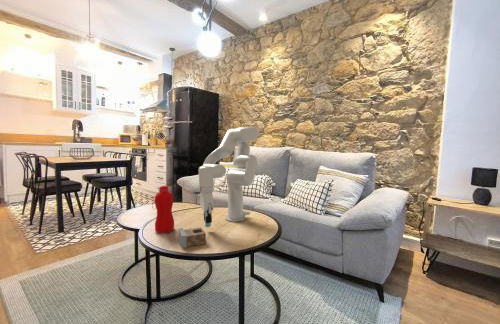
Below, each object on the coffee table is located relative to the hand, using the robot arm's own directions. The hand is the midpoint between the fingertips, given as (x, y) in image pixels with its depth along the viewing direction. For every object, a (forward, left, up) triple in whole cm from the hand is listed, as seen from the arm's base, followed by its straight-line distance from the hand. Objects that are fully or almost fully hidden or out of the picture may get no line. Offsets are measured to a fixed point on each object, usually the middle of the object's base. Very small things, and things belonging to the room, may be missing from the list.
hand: (207, 221), depth 128 cm
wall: (+16, +11, -6) cm, 20 cm away
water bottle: (+22, -11, -6) cm, 25 cm away
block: (+10, +11, -6) cm, 16 cm away
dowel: (0, 0, -3) cm, 3 cm away
